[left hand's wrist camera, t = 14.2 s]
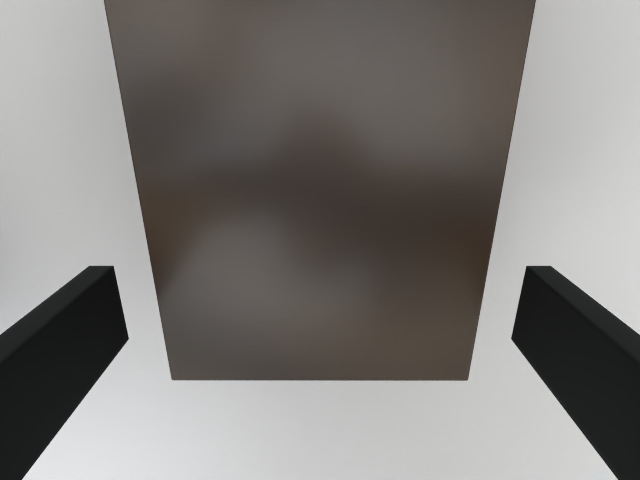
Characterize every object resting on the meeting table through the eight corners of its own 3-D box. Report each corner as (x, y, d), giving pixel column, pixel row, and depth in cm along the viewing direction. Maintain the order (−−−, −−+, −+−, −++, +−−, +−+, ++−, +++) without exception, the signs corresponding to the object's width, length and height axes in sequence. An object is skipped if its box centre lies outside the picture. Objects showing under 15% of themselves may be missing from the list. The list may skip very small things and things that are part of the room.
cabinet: (188, -56, 17) (70, -178, 9) (451, -57, 17) (568, -178, 9) (223, 276, 23) (171, 380, 15) (416, 276, 23) (468, 381, 15)
